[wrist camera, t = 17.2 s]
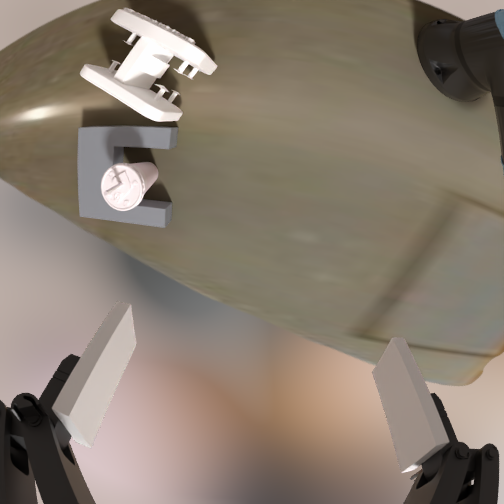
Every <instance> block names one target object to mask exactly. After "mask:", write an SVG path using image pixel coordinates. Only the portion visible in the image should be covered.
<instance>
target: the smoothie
mask: <svg viewBox="0 0 504 504" xmlns="http://www.w3.org/2000/svg"><path fill="white" fill-rule="evenodd" d="M157 177H158V169H157V167H156V166H155V165H154V164H153V163H151V162H141V163H133V164H127V163H118V164H115V165H113V166H112V167H110V168H109V169H108V170H107V171H106V172H105V173H104V175H103V177H102V181H101V191H102V195H103V197H104V199H105V201H106V202H107V203H108V205H110V206H111V207H112V208H114V209H116V210H119V211H127V210H130V209H132V208H134V207H135V206H137V205H138V204H139V203H140V202H141V201H142V198H143V196H144V194H145V192H146V191H147V190H148V189H149V188H150V187H151V185H152V184H153V183H154V182H155V181H156V179H157Z"/></svg>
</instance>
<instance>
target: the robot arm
mask: <svg viewBox="0 0 504 504" xmlns="http://www.w3.org/2000/svg"><path fill="white" fill-rule="evenodd" d="M418 54H419V58H420V62H421V64H422V67H423V69H424V71H425V73H426V75H427V76H428V78H429V79H430V81H431V82H432V83H433V85H434V86H435V87H436V88H437V89H438V90H439V91H440V92H441V93H443V94H444V95H445V96H447V97H449V98H451V99H453V100H456V101H474V100H477V99H479V98H480V97H482V96H484V95H486V94H488V93H490V92H491V93H492V97H493V102H494V107H495V112H496V118H497V124H498V130H499V137H500V145H501V154H502V155H501V163H502V166H503V173H504V9H500V10H497V11H496V12H493V13H490V14H486V15H483V16H479V17H476V18H473V19H470V20H467V21H464V22H462V21H455V20H447V19H440V20H435V21H433V22H430V23H428V24H427V25H425V26H424V27H423V28H422V30H421V31H420V33H419V36H418ZM136 345H137V344H136V337H135V331H134V325H133V318H132V309H131V304H128V303H123V302H118V301H117V302H116V303H115V305H114V306H113V308H112V309H111V311H110V312H109V314H108V315H107V317H106V318H105V320H104V321H103V323H102V324H101V326H100V327H99V329H98V331H97V332H96V334H95V335H94V337H93V338H92V340H91V341H90V343H89V345H88V346H87V348H86V349H85V351H84V353H83V354H82V356H81V357H78V356H75V355H73V354H71V355H69V356H68V357H66V358H65V359H64V360H63V361H62V362H61V364H60V365H59V367H58V369H57V371H56V372H55V373H54V375H53V378H51V380H50V381H49V383H48V385H47V387H46V388H45V390H44V391H43V393H42V395H41V397H40V398H39V400H38V399H37V398H36V397H35V396H34V395H32V394H30V393H22V394H19V395H17V396H16V397H15V398H14V399H13V401H12V404H11V408H9V407H6V406H5V404H4V403H3V402H2V401H1V400H0V504H38V502H37V496H36V488H35V481H36V484H37V487H38V489H39V492H40V495H41V498H42V500H43V503H44V504H96V503H95V501H94V499H93V497H92V495H91V493H90V491H89V489H88V487H87V485H86V482H85V480H84V478H83V476H82V473H81V471H80V468H79V466H78V463H77V461H76V458H75V456H74V453H73V451H72V448H71V445H70V443H69V441H70V439H71V436H72V438H73V439H74V440H75V441H76V442H77V443H79V444H82V445H84V446H87V447H89V448H92V446H93V443H94V440H95V438H96V436H97V433H98V431H99V428H100V426H101V423H102V421H103V418H104V416H105V414H106V411H107V409H108V406H109V404H110V402H111V399H112V397H113V395H114V393H115V390H116V388H117V386H118V384H119V381H120V379H121V377H122V375H123V372H124V370H125V368H126V366H127V364H128V362H129V359H130V357H131V355H132V353H133V351H134V349H135V347H136ZM372 373H373V376H374V379H375V383H376V385H377V389H378V392H379V395H380V398H381V402H382V405H383V408H384V411H385V415H386V418H387V422H388V425H389V429H390V432H391V436H392V440H393V443H394V447H395V451H396V455H397V459H398V463H399V467H400V471H401V473H403V472H407V471H411V470H414V469H416V468H417V467H418V466H420V465H422V469H421V470H420V471H419V472H417V473H416V474H414V475H413V476H412V477H411V478H410V479H411V480H412V479H414V478H415V477H417V478H416V480H414V481H415V482H414V484H413V486H412V488H411V490H410V492H409V494H408V496H407V498H406V500H405V502H404V504H497V500H498V487H499V452H498V450H497V448H496V447H495V446H494V445H493V444H486V445H485V446H484V447H482V448H481V449H469V447H468V446H467V445H466V444H465V443H463V442H458V440H457V438H456V435H455V433H454V430H453V428H452V425H451V423H450V420H449V418H448V417H447V413H446V411H445V410H444V409H445V408H444V406H443V404H442V401H441V400H440V399H439V397H438V396H437V395H436V394H435V393H431V394H430V392H429V390H428V387H427V385H426V383H425V381H424V378H423V376H422V374H421V372H420V370H419V368H418V365H417V363H416V361H415V359H414V357H413V355H412V353H411V351H410V349H409V347H408V345H407V343H406V341H405V339H404V338H396V337H392V339H391V341H390V343H389V344H388V346H387V348H386V350H385V352H384V353H383V355H382V357H381V358H380V360H379V362H378V363H377V365H376V367H375V368H374V370H373V372H372ZM473 479H474V484H473V485H471V480H473Z"/></svg>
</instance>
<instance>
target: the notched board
mask: <svg viewBox="0 0 504 504" xmlns="http://www.w3.org/2000/svg"><path fill="white" fill-rule="evenodd" d="M177 134H178V127H160V126H88V127H81V128H79V133H78V194H79V211H80V217H88V218H96V219H103V220H111V221H118V222H126V223H133V224H141V225H148V226H155V227H162V228H165V227H166V226H167V225H168V223H169V222H170V221H171V216H172V202H164V201H155V200H146V199H142V201H141V202H140V203H139V204H138V205H137V206H135V207H134V208H132V209H130V210H127V211H119V210H116V209H114V208H112V207H111V206H110V205H108V203H107V202H106V201H105V199H104V197H103V195H102V191H101V181H102V177H103V175H104V173H105V172H106V171H107V170H108V169H109V168H110V167H112V166H113V165H115V164H118V163H123V154H124V147H143V148H160V149H171V148H174V147H176V144H177Z"/></svg>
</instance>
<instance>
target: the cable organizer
mask: <svg viewBox="0 0 504 504" xmlns="http://www.w3.org/2000/svg"><path fill="white" fill-rule="evenodd" d="M111 20H112V21H113V22H114V23H116V24H117V25H119V26H121V27H123V28H125V29H127V30H128V31H130V32H132V35H131V36H130V37H129V39H128V40H127V42H126V43H127V44H128V45H131V43H132V42H133V40H134V39H135V37H136V36H137V35H138V36H139V37H141V38H140V39H139V40H138V42H137V43H136V44H135V46H134V47H133V49H132V50H131V51H130V53H129V54H128V56H127V57H126V59H125V60H124V62H123V63H122V65H121V63H119V62H117V61H114V60H112V61H113V63H112V65H111V66H110V68H104V67H100V66H95V65H90V64H85V65H84V67H83V68H82V70H81V72H80V75H81V76H82V77H83V78H85V79H86V80H88V81H89V82H91V83H93V84H94V85H96V86H98V87H99V88H101V89H102V90H104V91H106V92H107V93H109V94H110V95H112V96H114V97H115V98H117V99H118V100H120V101H121V102H123V103H125V104H126V105H128V106H129V107H131V108H132V109H134V110H135V111H137V112H138V113H140V114H142V115H143V116H145V117H147V118H149V119H151V120H154V121H157V122H162V121H178V120H179V118H180V117H181V115H182V114H183V112H182V111H181V110H180V109H179V108H178V107H177V106H175V105H174V104H172V101H173V100H174V98H175V97H176V96H177V94H179V93H178V92H177V91H174V90H172V91H174V92H173V93H172V95H171V96H170V98H169V99H168V100H166V99H165V98H163V97H162V95H163V94H164V93H165V91H167V92H169V91H168V90H167V89H166V88H165V87H164V86H162V85H158V84H155V85H157V86H159V87H160V88H161V89H160V91H159V92H158V93H155V92H154V91H152V90H150V87H151V86H152V84H154V82H155V80H156V79H157V78H161V77H162V75H163V74H164V73H165V71H166V70H167V68H168V67H169V66H170V65H169V64H168V62H169V61H170V60H171V58H172V57H173V56H176V57H178V58H179V59H181V60H183V61H184V62H183V63H182V65H181V66H180V67H179V69H178V70H176V69H175V70H176V71H177V72H178V73H181V74H183V73H182V72H183V71H184V70H185V68H186V67H187V66H188V64H189V65H191V66H193V67H194V68H193V70H192V71H191V72H190V73H189V75H188V76H187V75H186V76H187V77H188V78H190V79H192V77H193V76H194V75H195V73H196V72H197V71H198V70H199V71H201V72H203V73H205V74H208V75H211V74H212V73H213V71H214V70H215V69H216V68H217V65H216V64H215V63H214V61H213V60H212V59H211V58H210V57H209V56H208V55H207V54H206V53H205V52H204V51H203V50H202V49H201V48H199V47H198V46H196V45H195V42H194V40H193V39H191V38H188V37H187V36H184V35H183V34H180V33H179V32H178V31H176V30H174V29H173V30H172V29H171V28H170V27H168V26H166V25H164V24H162V23H159V22H157V21H155V20H153V19H151V18H149V17H147V16H144V15H142V14H140V13H138V12H135V11H134V10H132V9H129V8H126V7H125V8H124V9H123V10H122V9H118V10H117V11H116V12H115V14H114V15H113V16H112V18H111ZM124 42H125V41H124ZM132 46H133V45H132ZM117 64H120V65H121V66H120V68H119V69H118V71H117V70H114V69H115V67H116V66H117ZM183 75H184V74H183ZM193 80H194V79H193ZM169 93H170V92H169ZM179 95H180V94H179Z"/></svg>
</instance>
